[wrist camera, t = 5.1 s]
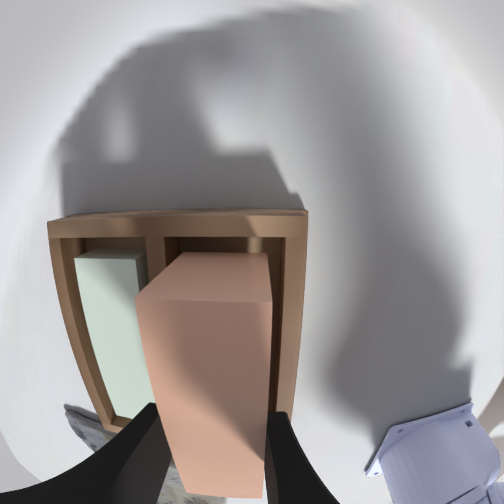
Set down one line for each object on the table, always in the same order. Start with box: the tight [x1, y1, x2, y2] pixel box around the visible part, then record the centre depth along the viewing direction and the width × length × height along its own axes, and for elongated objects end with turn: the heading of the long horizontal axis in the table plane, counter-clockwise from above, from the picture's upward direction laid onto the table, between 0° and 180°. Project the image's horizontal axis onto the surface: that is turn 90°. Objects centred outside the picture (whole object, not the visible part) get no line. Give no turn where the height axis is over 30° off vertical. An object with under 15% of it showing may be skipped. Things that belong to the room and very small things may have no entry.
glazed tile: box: [74, 248, 156, 419], centre depth 13 cm, size 3×10×2 cm, turn 0°
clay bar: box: [134, 252, 272, 498], centre depth 10 cm, size 3×10×5 cm, turn 0°
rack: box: [47, 209, 308, 433], centre depth 14 cm, size 13×14×3 cm
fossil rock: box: [65, 410, 226, 504], centre depth 19 cm, size 18×15×2 cm
